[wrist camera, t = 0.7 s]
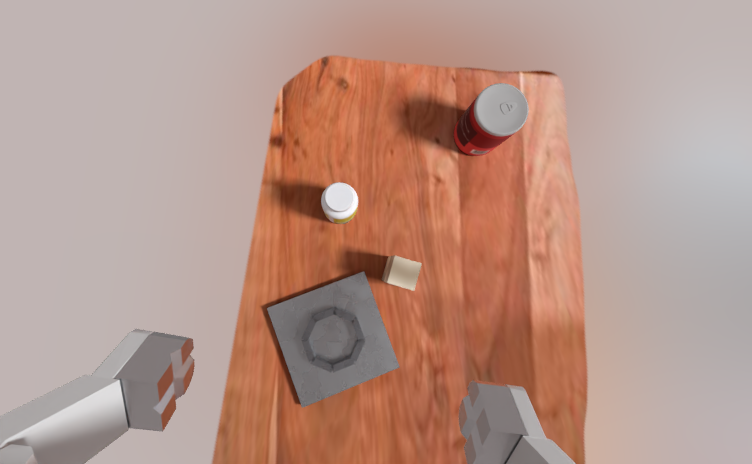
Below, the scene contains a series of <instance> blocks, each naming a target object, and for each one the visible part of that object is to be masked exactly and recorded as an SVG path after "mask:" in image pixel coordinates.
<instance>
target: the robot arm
mask: <svg viewBox="0 0 752 464" xmlns="http://www.w3.org/2000/svg"><path fill="white" fill-rule="evenodd" d="M192 350H193V339H191V338H186V337H181V336H176V335H169V334H164V333H158V332H151V331H145V330H139V329H135V330H133V331H131V332H130V333H129V334H128V335H127V336H126V337H125V338H124V339H123V340H122V341H121V343H120V344H119V345H118V346H117V347H116V348H115V349H114V351H113V352H112V353H111V354H110V355H109V356H108V357H107V358H106V359H105V360H104V362H103V363H102V364H101V365H100V366H99V367H98V368H97V369H96V371H95V372H94V373H93V374H92V375H84V376H82V377H80V378H77V379H75V380H73V381H71V382H69V383H67V384H65V385H63V386H61V387H59V388H57V389H55V390H53V391H51V392H49V393H47V394H45V395H43V396H41V397H39V398H37V399H35V400H32V401H30V402H29V403H27V404H24V405H22V406H20V407H18V408H16V409H14V410H12V411H10V412H8V413H6V414H4V415H2V416H0V464H84V463H86V462H87V461H88V460H89V459H91V458H92V457H93V456H95V455H96V454H98V453H99V452H100V451H102V450H103V449H104V448H105V447H107V446H108V445H109V444H111V443H112V442H113V441H115V440H116V439H117V438H119V437H120V436H121V435H123V434H124V433H125V432H127V431H128V428H134V429H143V430H153V431H163V430H164V429H165V427H166V425H167V423H168V421H169V420H170V418H171V416H172V415H173V413H174V411H175V409H176V402H175V400H176V399H177V398H179V397H181V396H182V395H184V394H185V392H186V390H187V388H188V386H189V384H190V381H191V379H192V376H193V372H194V359H193V358H192V357H191V355H190V353H191V351H192ZM467 389H468V393H469V395H468V396H466V397H465V398H463V400H462V402H461V405H460V409H459V426H460V431H461V433H462V434H463V436H464V437H465V438H466V439H467V442H466V444H465V446H464V450H465V455H466V459H467V464H576V463H575V462H574V461H573V460H572V459H571V458H570V457H569V456H568V455H566V454H565V453H564V452H563V451H562V450H561V449H560V448H559V447H558V446H557V445H556V444H555V443H554V442H553V441H552V440H550V439H546V437H545V434H544V432H543V430H542V427H541V425H540V423H539V420H538V418H537V416H536V414H535V411H534V409H533V407H532V404H531V402H530V400H529V397H528V395H527V393H526V391H525V389H524V388H523V387H519V386H512V385H504V384H499V383H492V382H484V381H477V380H473V381H471V382H470V384H469V386H468V388H467Z"/></svg>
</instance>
